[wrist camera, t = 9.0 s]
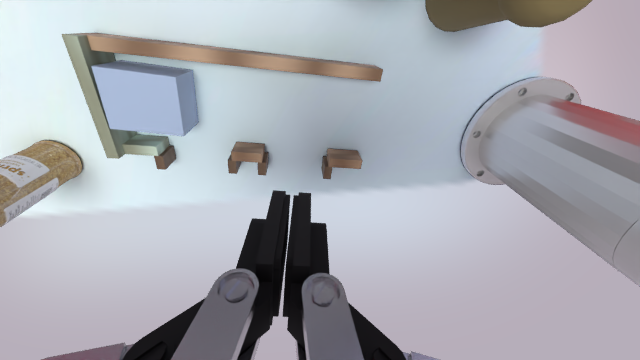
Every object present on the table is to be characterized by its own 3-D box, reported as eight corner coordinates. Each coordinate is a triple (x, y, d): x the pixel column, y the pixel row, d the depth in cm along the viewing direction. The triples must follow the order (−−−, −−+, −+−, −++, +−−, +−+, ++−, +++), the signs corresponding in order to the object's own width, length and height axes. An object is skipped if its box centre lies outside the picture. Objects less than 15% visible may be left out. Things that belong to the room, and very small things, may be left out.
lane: (375, 65, 24) (386, 71, 21) (353, 169, 30) (359, 185, 27) (95, 32, 21) (61, 34, 18) (132, 155, 27) (112, 171, 24)
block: (193, 69, 23) (175, 77, 20) (198, 121, 26) (183, 136, 22) (122, 59, 22) (91, 66, 19) (135, 114, 25) (110, 128, 21)
